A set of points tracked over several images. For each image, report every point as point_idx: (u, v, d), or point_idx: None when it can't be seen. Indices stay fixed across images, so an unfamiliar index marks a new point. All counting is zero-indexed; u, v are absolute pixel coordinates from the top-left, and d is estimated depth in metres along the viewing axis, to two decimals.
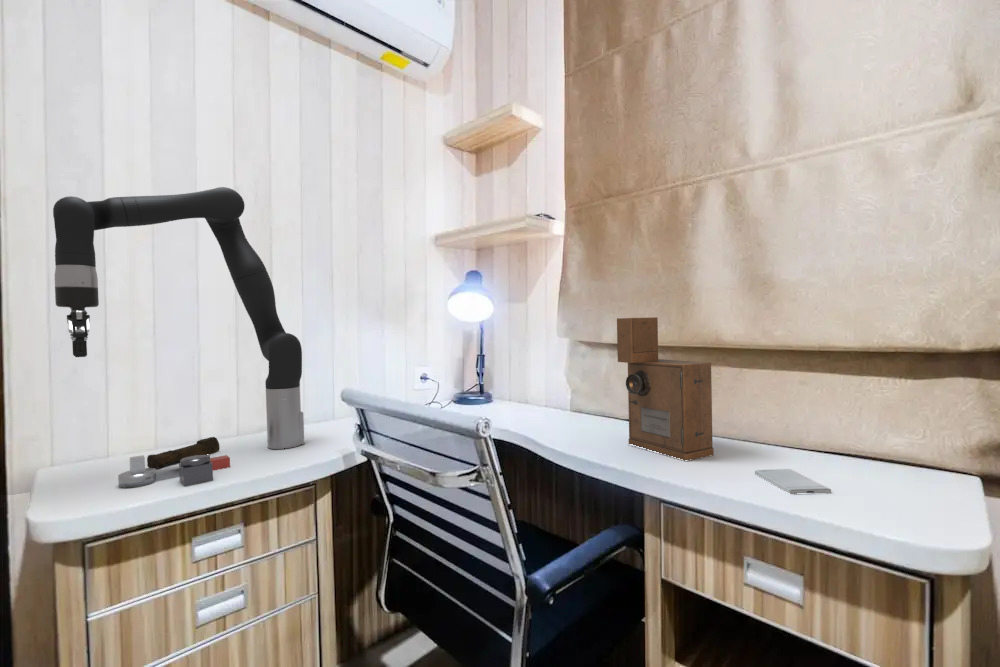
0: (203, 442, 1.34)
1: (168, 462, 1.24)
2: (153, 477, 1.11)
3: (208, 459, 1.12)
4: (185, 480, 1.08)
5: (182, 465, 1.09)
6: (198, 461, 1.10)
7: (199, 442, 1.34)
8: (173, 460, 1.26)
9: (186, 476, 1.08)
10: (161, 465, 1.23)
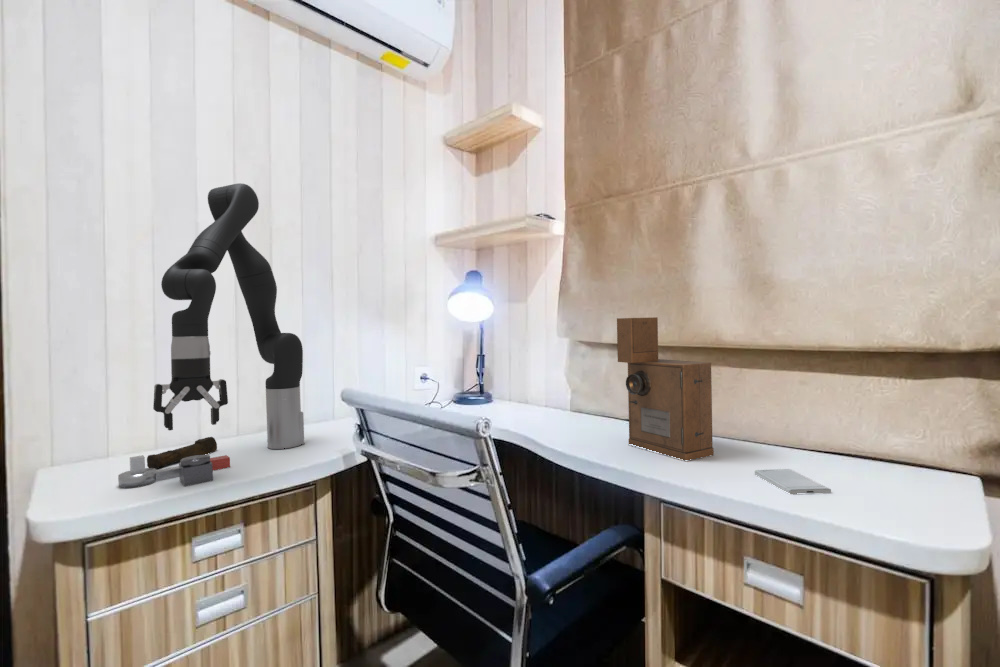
0: (202, 442, 1.34)
1: (168, 461, 1.25)
2: (153, 477, 1.11)
3: (208, 459, 1.12)
4: (185, 480, 1.08)
5: (182, 465, 1.09)
6: (198, 461, 1.10)
7: (197, 442, 1.34)
8: (173, 460, 1.26)
9: (186, 476, 1.08)
10: (161, 465, 1.23)
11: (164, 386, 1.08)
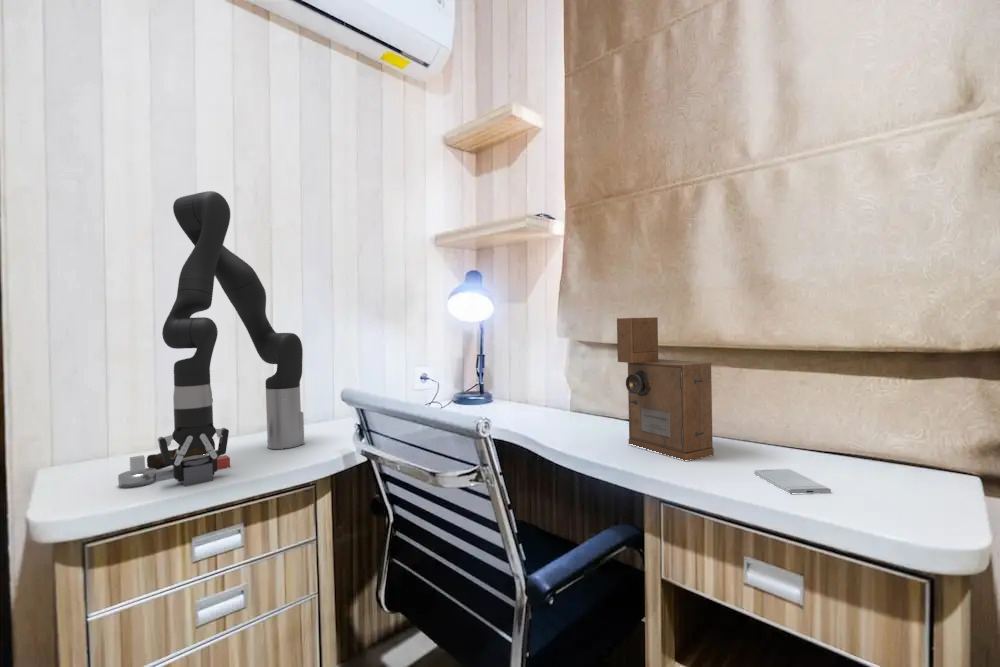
0: None
1: None
2: (153, 477, 1.11)
3: (208, 459, 1.12)
4: (185, 480, 1.08)
5: (182, 465, 1.09)
6: (198, 461, 1.10)
7: None
8: None
9: (186, 476, 1.08)
10: (162, 465, 1.23)
11: (167, 438, 1.08)
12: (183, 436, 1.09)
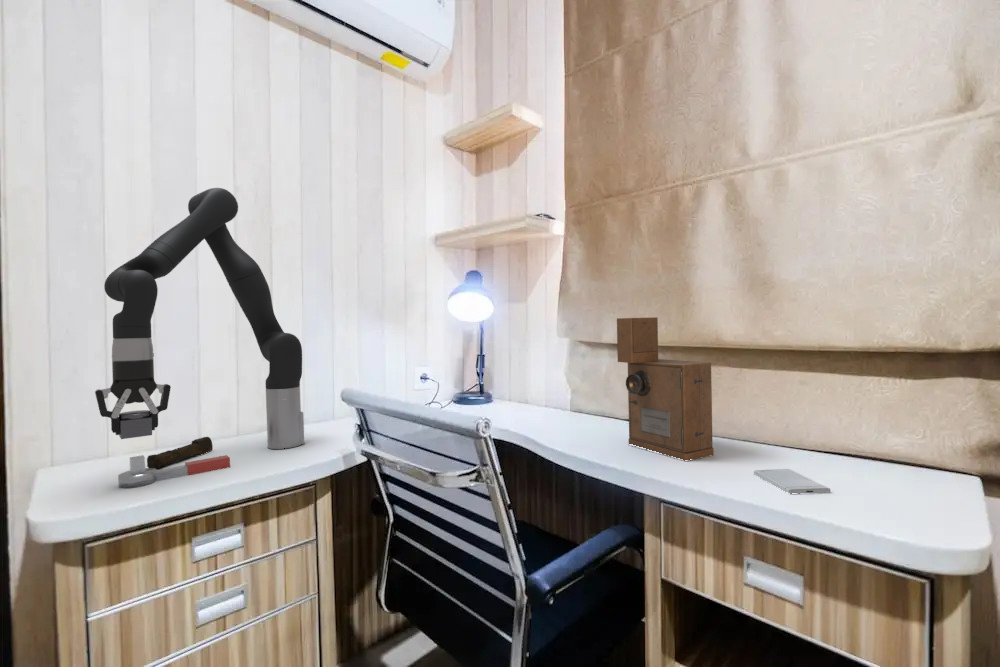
0: (199, 442, 1.34)
1: (168, 461, 1.25)
2: (153, 477, 1.11)
3: (148, 413, 1.11)
4: (122, 433, 1.07)
5: (120, 418, 1.08)
6: (136, 414, 1.09)
7: (195, 442, 1.34)
8: (173, 460, 1.26)
9: (123, 429, 1.07)
10: (162, 465, 1.23)
11: (104, 390, 1.07)
12: (121, 389, 1.08)
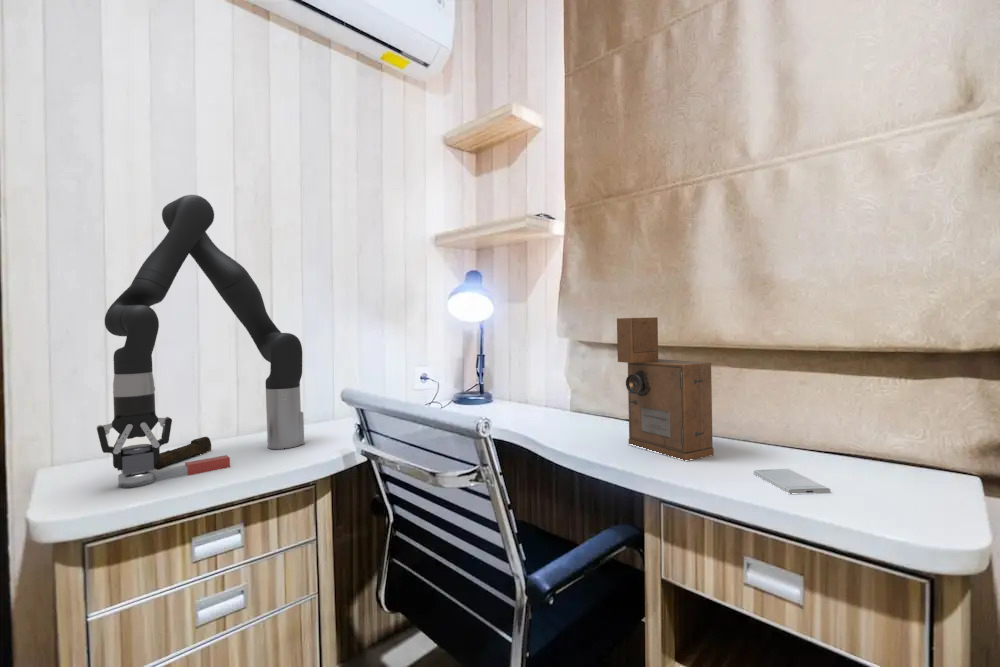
0: (198, 442, 1.35)
1: (169, 461, 1.25)
2: (153, 477, 1.11)
3: (149, 448, 1.11)
4: (124, 469, 1.07)
5: (122, 454, 1.08)
6: (138, 450, 1.09)
7: (194, 442, 1.34)
8: (173, 460, 1.26)
9: (125, 465, 1.07)
10: (163, 465, 1.23)
11: (106, 426, 1.07)
12: (123, 424, 1.08)
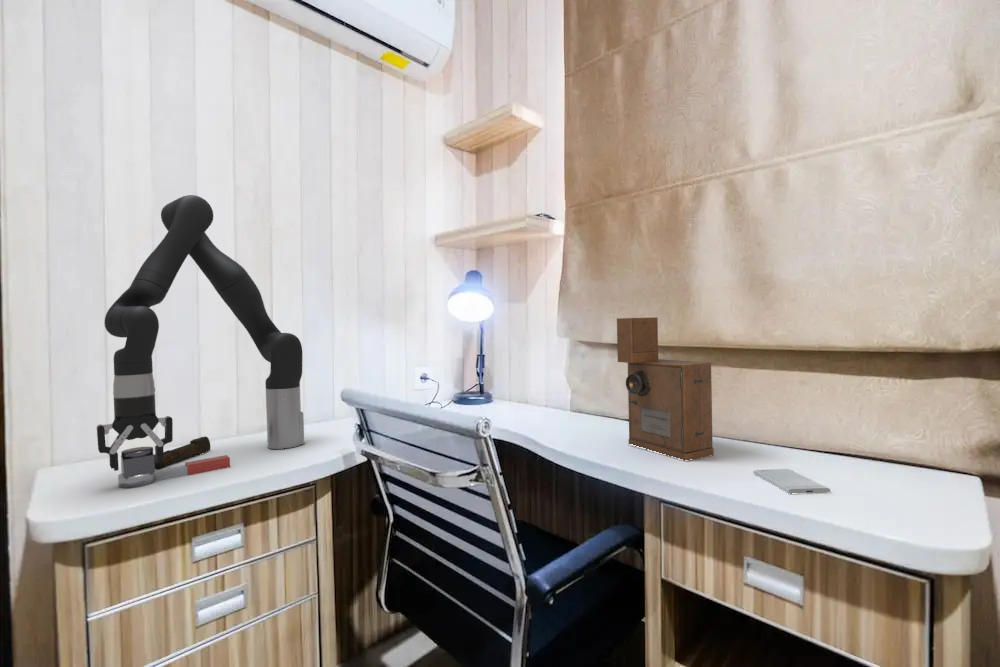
0: (198, 441, 1.35)
1: (169, 461, 1.25)
2: (153, 477, 1.11)
3: (150, 451, 1.11)
4: (125, 472, 1.07)
5: (122, 457, 1.08)
6: (139, 453, 1.09)
7: (193, 442, 1.34)
8: (173, 460, 1.26)
9: (126, 468, 1.07)
10: (163, 465, 1.23)
11: (106, 426, 1.07)
12: (123, 425, 1.08)
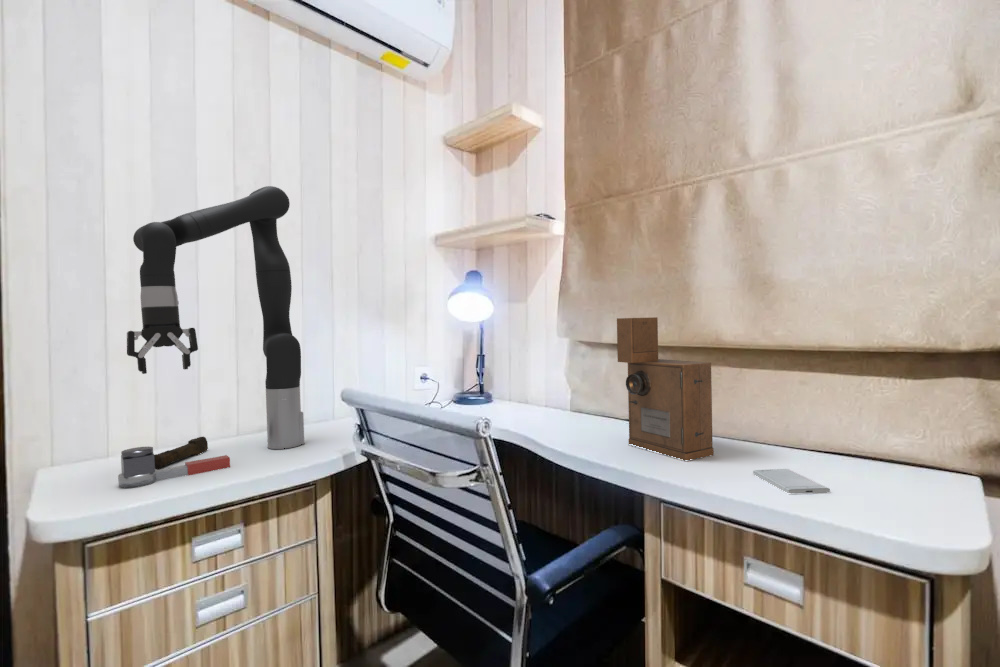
0: (196, 441, 1.35)
1: (169, 461, 1.25)
2: (153, 477, 1.11)
3: (150, 451, 1.11)
4: (125, 472, 1.07)
5: (122, 457, 1.08)
6: (139, 453, 1.09)
7: (192, 442, 1.34)
8: (173, 460, 1.26)
9: (126, 468, 1.07)
10: (163, 465, 1.23)
11: (136, 333, 1.16)
12: (152, 332, 1.17)
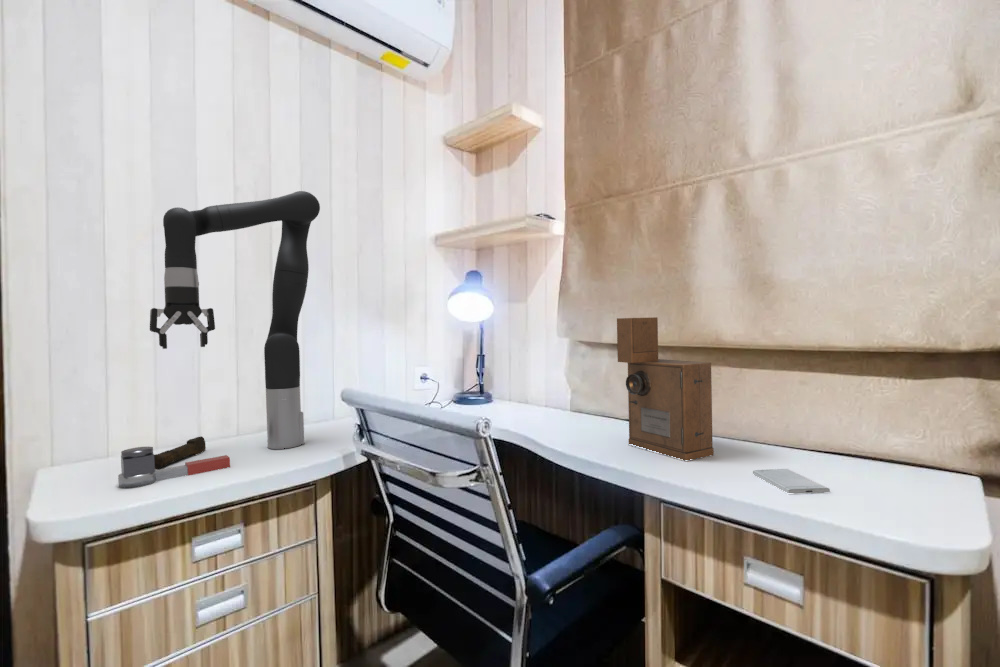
0: (195, 441, 1.35)
1: (169, 461, 1.25)
2: (153, 477, 1.11)
3: (150, 451, 1.11)
4: (125, 472, 1.07)
5: (122, 456, 1.08)
6: (139, 453, 1.09)
7: (190, 442, 1.34)
8: (173, 459, 1.26)
9: (126, 467, 1.07)
10: (164, 465, 1.23)
11: (159, 310, 1.24)
12: (173, 310, 1.26)
